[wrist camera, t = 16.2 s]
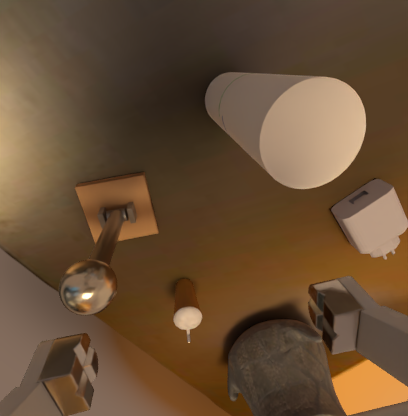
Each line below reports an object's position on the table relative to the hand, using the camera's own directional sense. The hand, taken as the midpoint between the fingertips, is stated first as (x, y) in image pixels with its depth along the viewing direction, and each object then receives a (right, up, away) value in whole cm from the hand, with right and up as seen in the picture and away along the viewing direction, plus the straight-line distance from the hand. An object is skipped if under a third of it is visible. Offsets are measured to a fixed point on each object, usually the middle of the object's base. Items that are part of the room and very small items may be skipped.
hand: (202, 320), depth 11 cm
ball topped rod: (-12, +2, +23) cm, 26 cm away
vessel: (+15, -25, +53) cm, 61 cm away
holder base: (-13, +4, +35) cm, 38 cm away
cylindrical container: (+4, +19, +31) cm, 37 cm away
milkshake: (-4, -10, +44) cm, 45 cm away
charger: (+30, +2, +43) cm, 52 cm away
